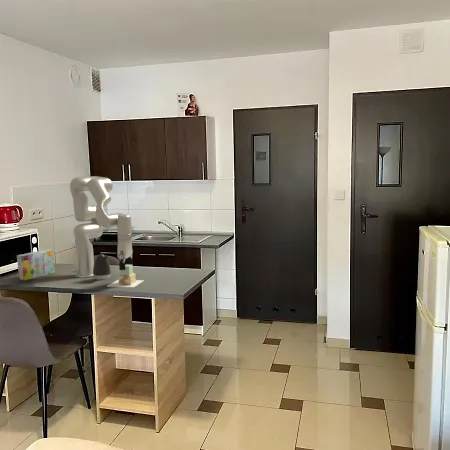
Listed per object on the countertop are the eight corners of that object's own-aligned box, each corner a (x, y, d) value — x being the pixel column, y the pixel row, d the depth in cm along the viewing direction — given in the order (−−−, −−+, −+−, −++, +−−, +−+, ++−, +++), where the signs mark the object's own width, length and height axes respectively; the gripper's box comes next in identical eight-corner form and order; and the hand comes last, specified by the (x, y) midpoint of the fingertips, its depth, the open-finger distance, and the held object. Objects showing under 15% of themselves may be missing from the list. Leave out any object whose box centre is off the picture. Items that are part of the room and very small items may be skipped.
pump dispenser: (102, 282, 262) (101, 256, 260) (89, 280, 267) (87, 255, 265) (115, 278, 271) (113, 253, 269) (102, 276, 276) (100, 251, 274)
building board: (106, 288, 249) (106, 286, 249) (118, 281, 264) (117, 279, 264) (134, 288, 246) (134, 287, 246) (144, 282, 260) (144, 280, 260)
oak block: (118, 284, 252) (118, 275, 251) (124, 281, 259) (123, 272, 258) (130, 285, 250) (130, 276, 250) (135, 281, 257) (135, 273, 257)
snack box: (49, 272, 292) (48, 249, 290) (55, 273, 288) (53, 249, 287) (18, 279, 275) (16, 254, 273) (23, 280, 271) (21, 255, 269)
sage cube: (120, 275, 252) (120, 266, 251) (124, 273, 257) (124, 264, 256) (129, 275, 251) (129, 266, 250) (132, 273, 256) (132, 264, 255)
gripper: (124, 234, 260) (126, 264, 263) (111, 239, 244) (112, 271, 246) (137, 234, 259) (138, 264, 261) (124, 240, 242) (126, 271, 245)
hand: (126, 267), depth 254 cm, fingers open, 9 cm apart
